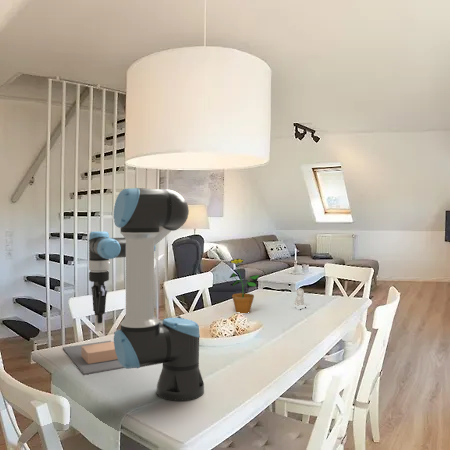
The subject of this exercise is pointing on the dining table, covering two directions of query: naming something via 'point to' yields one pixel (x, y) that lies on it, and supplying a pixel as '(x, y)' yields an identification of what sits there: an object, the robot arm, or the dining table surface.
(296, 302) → the seated beast figurine
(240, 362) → the dining table surface
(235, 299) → the potted plant
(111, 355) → the tan and teal block
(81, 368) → the mat
